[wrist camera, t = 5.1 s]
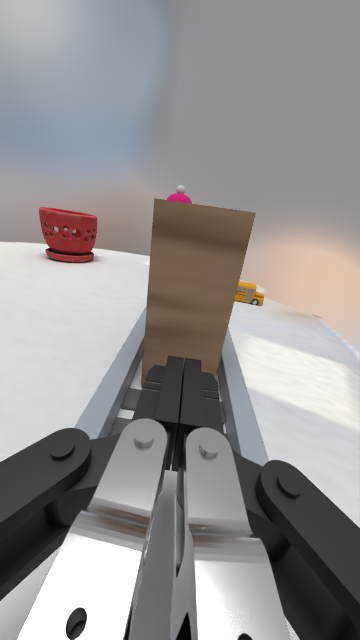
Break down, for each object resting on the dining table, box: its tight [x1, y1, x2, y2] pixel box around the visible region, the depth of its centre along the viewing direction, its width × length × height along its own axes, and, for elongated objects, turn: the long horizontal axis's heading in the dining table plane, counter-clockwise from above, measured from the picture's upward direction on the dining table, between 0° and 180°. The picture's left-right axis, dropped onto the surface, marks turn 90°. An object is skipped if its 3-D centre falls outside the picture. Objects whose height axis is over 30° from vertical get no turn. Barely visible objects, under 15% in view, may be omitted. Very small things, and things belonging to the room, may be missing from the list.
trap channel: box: [74, 306, 269, 466], centre depth 25 cm, size 29×11×3 cm, turn 176°
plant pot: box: [39, 207, 97, 262], centre depth 58 cm, size 13×13×12 cm
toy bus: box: [234, 281, 264, 305], centre depth 45 cm, size 3×10×4 cm, turn 77°
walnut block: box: [141, 199, 256, 385], centre depth 19 cm, size 8×6×14 cm
